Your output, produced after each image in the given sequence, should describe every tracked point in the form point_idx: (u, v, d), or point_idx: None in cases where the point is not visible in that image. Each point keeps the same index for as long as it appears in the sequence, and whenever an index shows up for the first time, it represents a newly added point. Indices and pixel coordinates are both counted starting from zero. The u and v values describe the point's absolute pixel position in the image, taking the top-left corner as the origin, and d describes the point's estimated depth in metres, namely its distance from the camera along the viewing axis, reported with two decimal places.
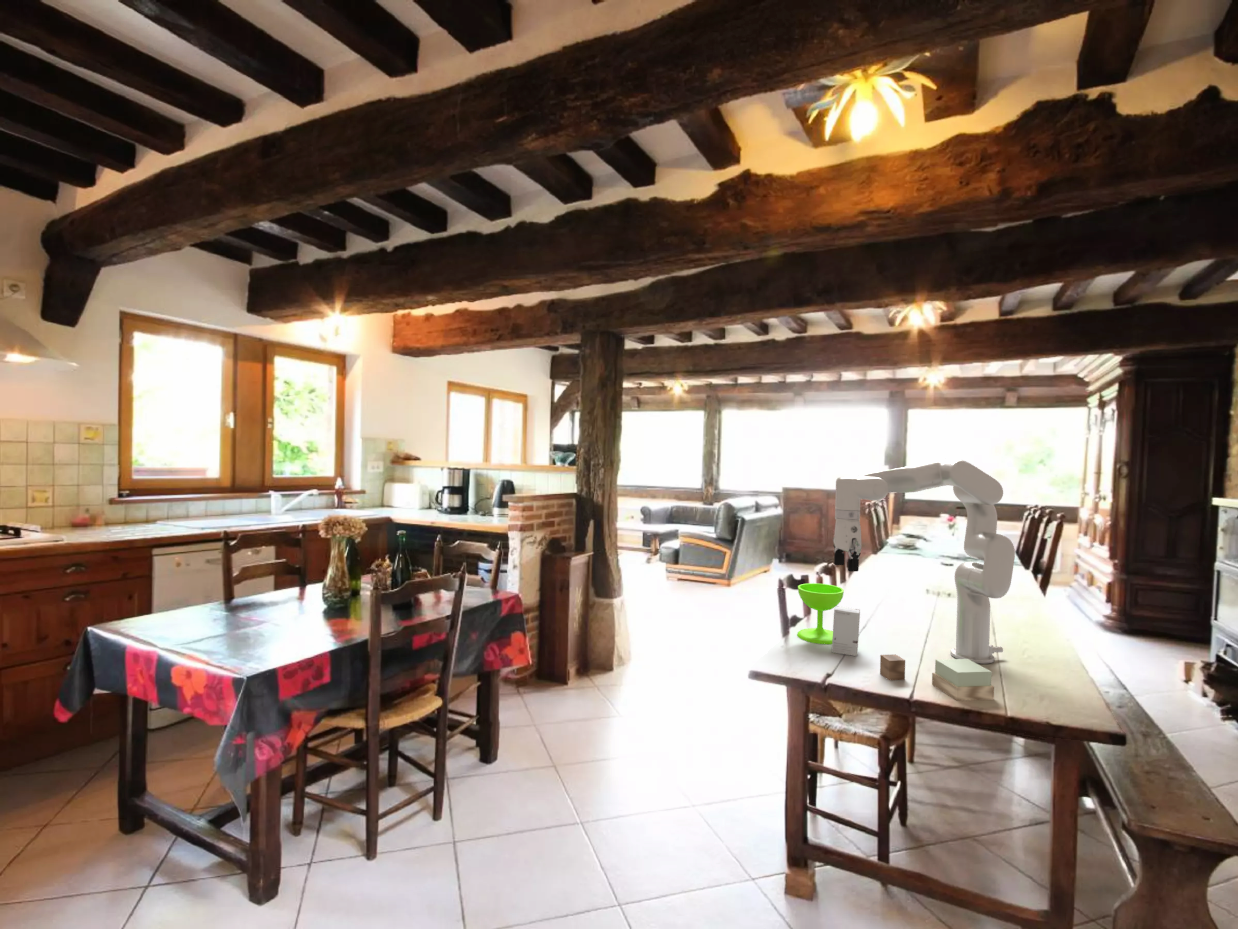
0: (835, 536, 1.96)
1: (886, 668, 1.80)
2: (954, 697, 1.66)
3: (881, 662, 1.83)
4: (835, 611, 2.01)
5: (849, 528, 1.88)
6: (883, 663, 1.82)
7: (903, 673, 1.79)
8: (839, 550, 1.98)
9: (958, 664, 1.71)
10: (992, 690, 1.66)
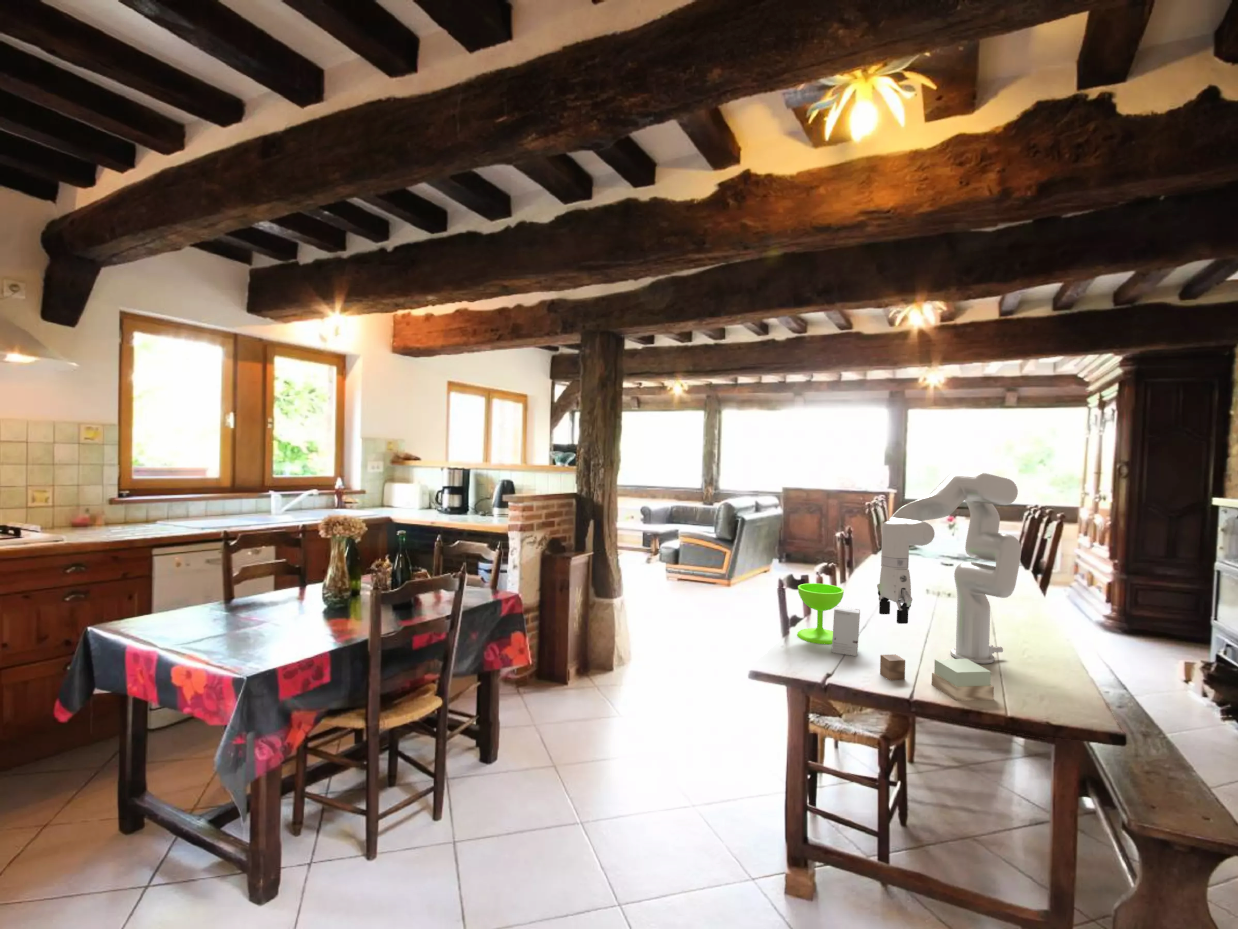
0: (881, 584, 1.84)
1: (886, 667, 1.80)
2: (954, 697, 1.66)
3: (881, 662, 1.83)
4: (835, 611, 2.01)
5: (898, 577, 1.76)
6: (883, 663, 1.82)
7: (903, 673, 1.79)
8: (884, 598, 1.85)
9: (957, 664, 1.71)
10: (992, 690, 1.66)
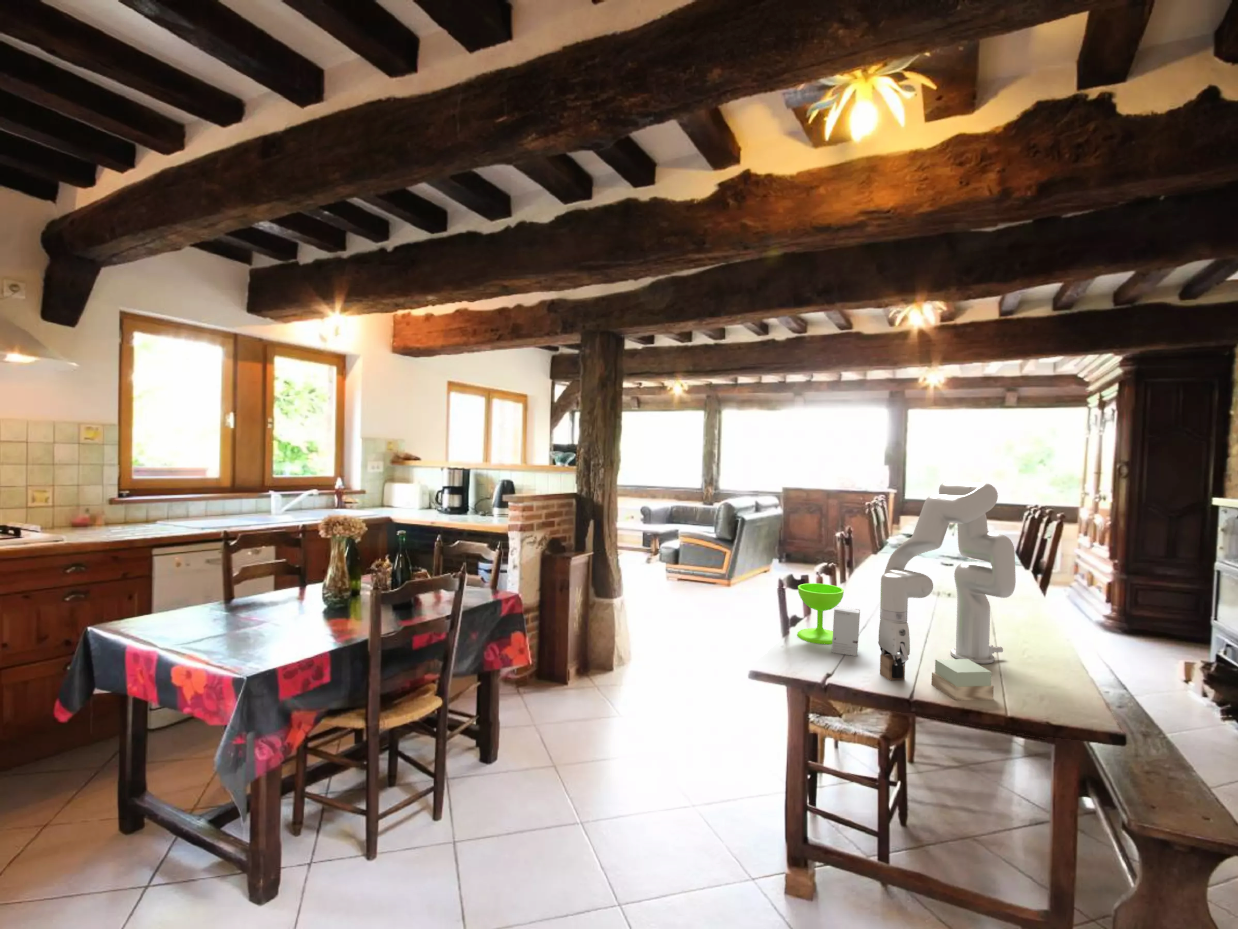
0: (880, 635, 1.84)
1: (886, 667, 1.80)
2: (953, 697, 1.66)
3: (881, 662, 1.83)
4: (835, 611, 2.01)
5: (897, 631, 1.76)
6: (883, 662, 1.82)
7: (903, 673, 1.79)
8: None
9: (958, 664, 1.71)
10: (991, 690, 1.66)
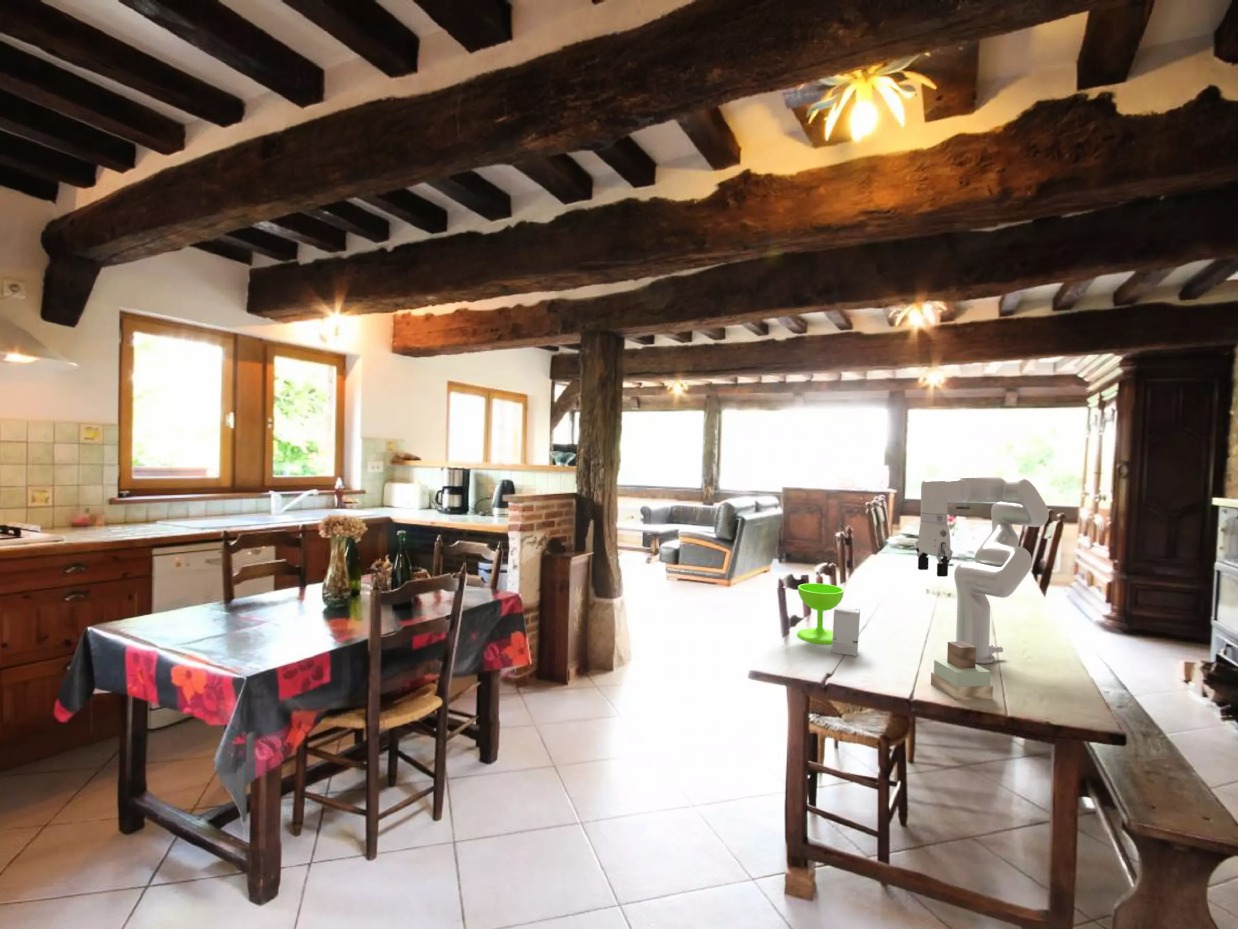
0: (920, 540, 1.91)
1: (956, 655, 1.69)
2: (953, 697, 1.66)
3: (949, 649, 1.72)
4: (835, 611, 2.01)
5: (938, 532, 1.83)
6: (952, 650, 1.71)
7: (974, 661, 1.69)
8: (923, 554, 1.93)
9: None
10: (991, 690, 1.66)
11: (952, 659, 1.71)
